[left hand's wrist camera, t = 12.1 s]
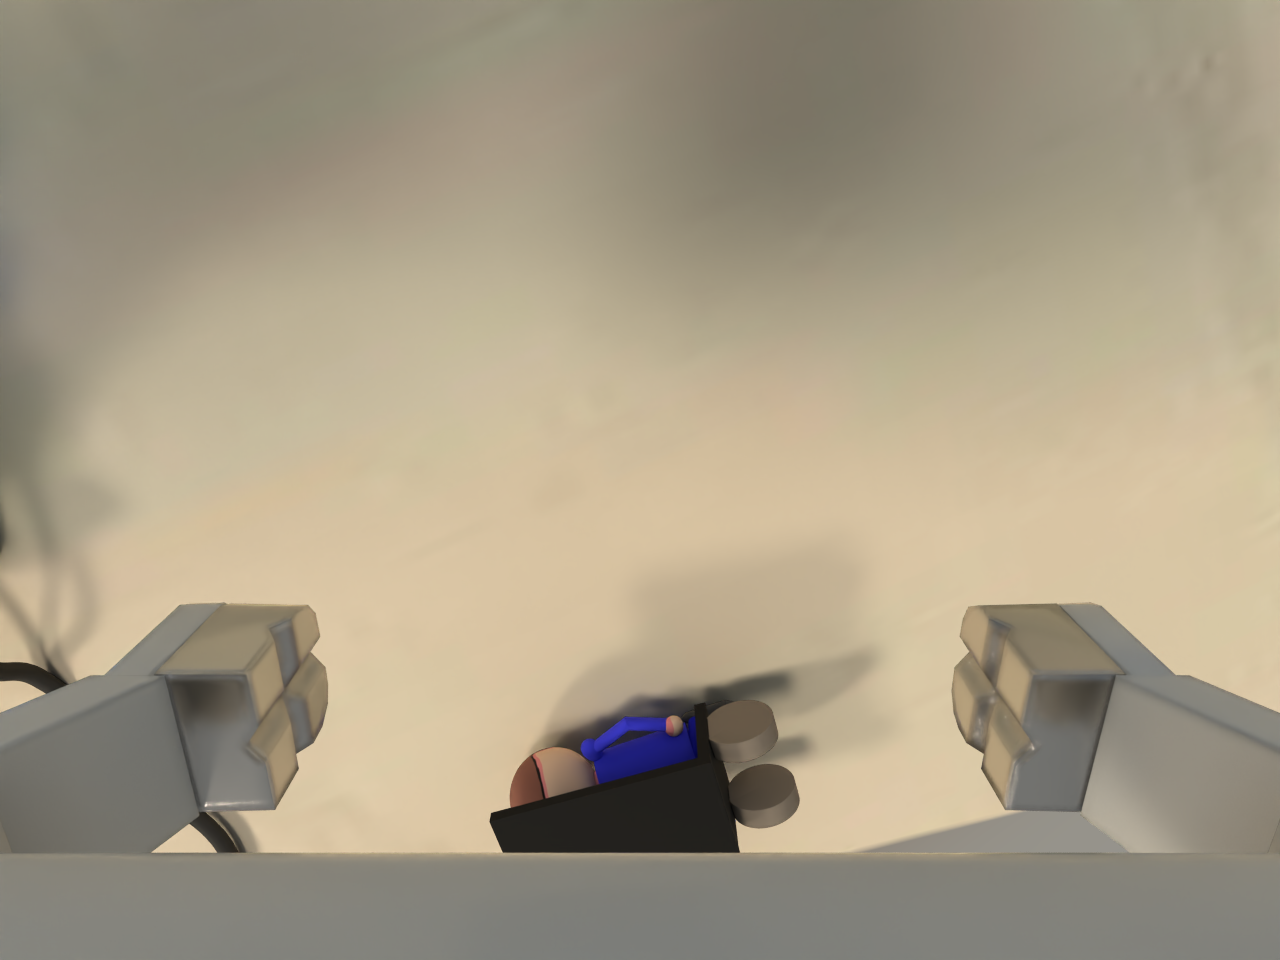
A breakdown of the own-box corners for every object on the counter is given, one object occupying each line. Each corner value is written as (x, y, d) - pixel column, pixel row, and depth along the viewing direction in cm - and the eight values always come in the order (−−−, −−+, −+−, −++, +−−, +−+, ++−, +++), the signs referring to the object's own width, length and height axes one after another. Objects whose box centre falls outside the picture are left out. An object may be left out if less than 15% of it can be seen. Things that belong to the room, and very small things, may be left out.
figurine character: (747, 648, 45) (493, 733, 45) (785, 732, 38) (483, 833, 38) (775, 741, 47) (534, 822, 47) (816, 837, 40) (532, 932, 40)
